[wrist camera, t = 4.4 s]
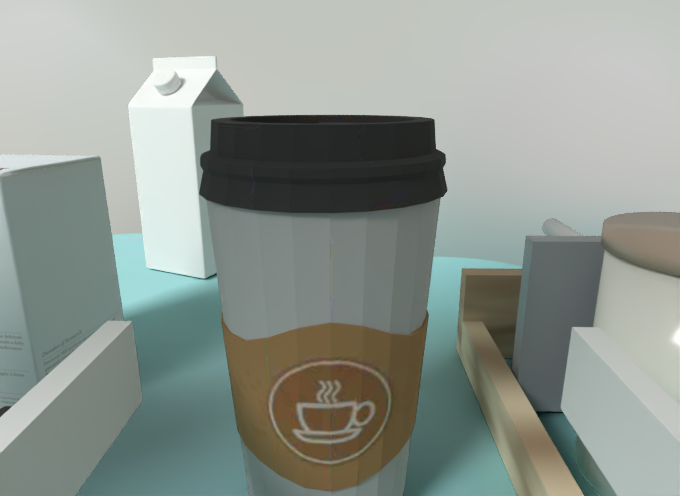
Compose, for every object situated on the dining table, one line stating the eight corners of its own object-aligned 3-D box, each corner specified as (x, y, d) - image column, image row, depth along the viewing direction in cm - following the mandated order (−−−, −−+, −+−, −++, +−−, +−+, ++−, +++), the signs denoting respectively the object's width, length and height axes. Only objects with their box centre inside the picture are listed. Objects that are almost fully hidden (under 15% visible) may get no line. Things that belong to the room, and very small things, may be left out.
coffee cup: (207, 590, 17) (161, 126, 13) (237, 431, 25) (216, 114, 20) (453, 573, 17) (490, 125, 13) (406, 423, 25) (419, 114, 21)
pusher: (721, 413, 26) (763, 242, 23) (514, 410, 26) (533, 241, 23) (613, 321, 36) (634, 196, 34) (466, 319, 36) (476, 196, 34)
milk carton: (196, 249, 54) (180, 60, 49) (251, 258, 51) (241, 58, 46) (145, 269, 48) (121, 55, 43) (205, 281, 45) (186, 52, 40)
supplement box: (133, 354, 32) (107, 154, 29) (45, 426, 25) (-5, 172, 22) (34, 343, 34) (-3, 151, 30) (-75, 407, 27) (-141, 167, 23)
